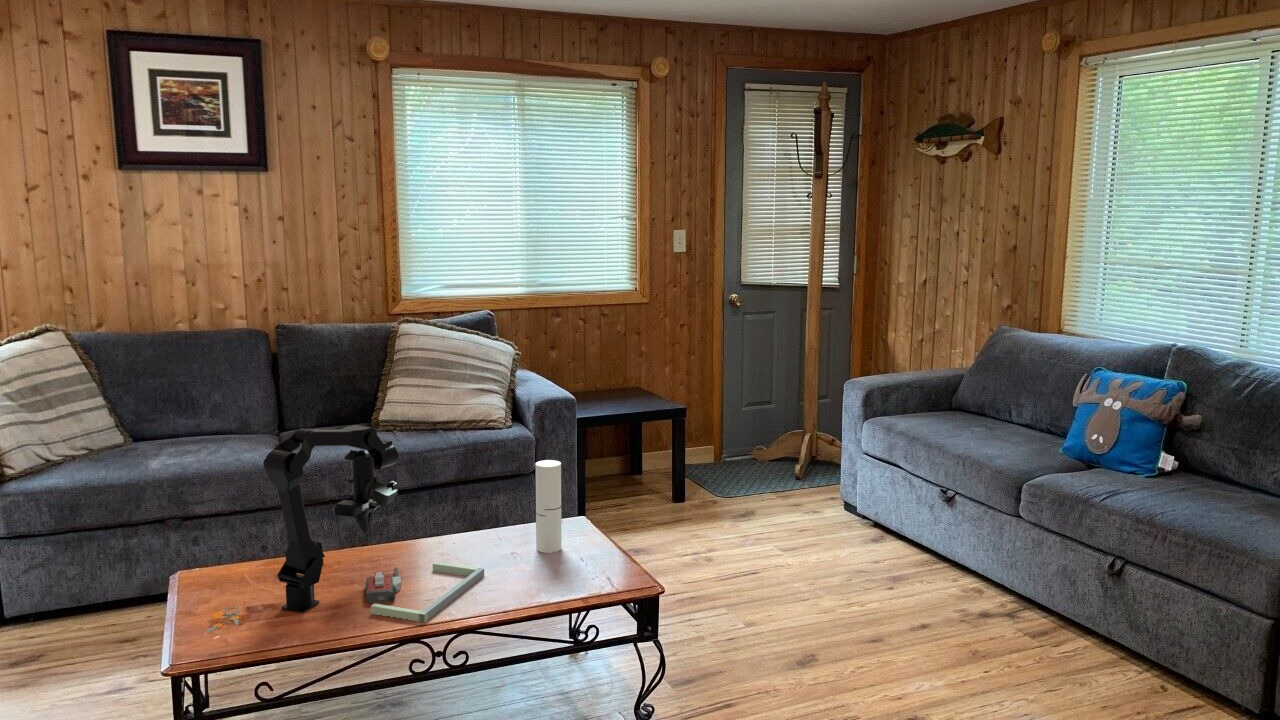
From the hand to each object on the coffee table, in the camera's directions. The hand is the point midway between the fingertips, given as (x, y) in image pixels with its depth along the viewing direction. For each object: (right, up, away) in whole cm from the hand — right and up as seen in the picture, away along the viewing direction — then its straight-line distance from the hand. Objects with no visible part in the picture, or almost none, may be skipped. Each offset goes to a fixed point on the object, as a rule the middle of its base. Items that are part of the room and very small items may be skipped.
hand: (365, 531), depth 250 cm
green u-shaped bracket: (+19, -14, -9) cm, 25 cm away
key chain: (-26, -17, -25) cm, 39 cm away
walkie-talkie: (+6, -14, -6) cm, 16 cm away
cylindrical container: (+46, -9, +23) cm, 52 cm away
